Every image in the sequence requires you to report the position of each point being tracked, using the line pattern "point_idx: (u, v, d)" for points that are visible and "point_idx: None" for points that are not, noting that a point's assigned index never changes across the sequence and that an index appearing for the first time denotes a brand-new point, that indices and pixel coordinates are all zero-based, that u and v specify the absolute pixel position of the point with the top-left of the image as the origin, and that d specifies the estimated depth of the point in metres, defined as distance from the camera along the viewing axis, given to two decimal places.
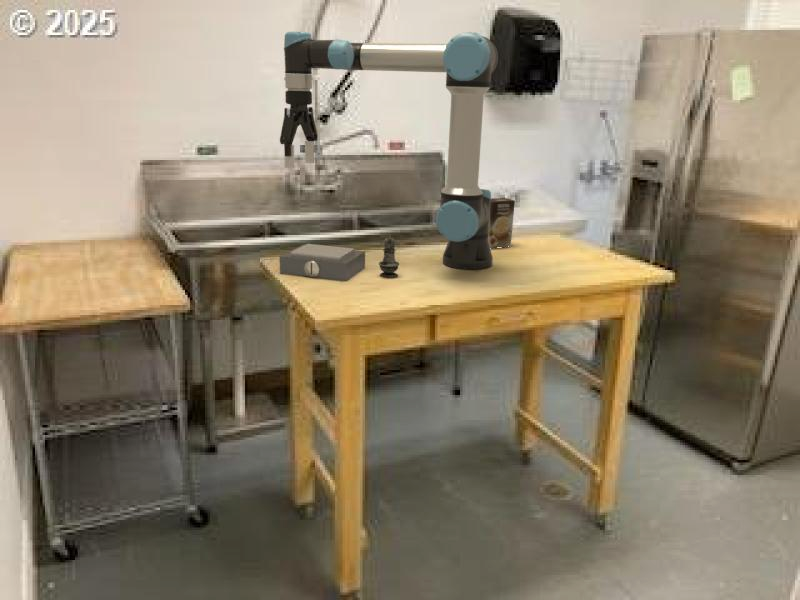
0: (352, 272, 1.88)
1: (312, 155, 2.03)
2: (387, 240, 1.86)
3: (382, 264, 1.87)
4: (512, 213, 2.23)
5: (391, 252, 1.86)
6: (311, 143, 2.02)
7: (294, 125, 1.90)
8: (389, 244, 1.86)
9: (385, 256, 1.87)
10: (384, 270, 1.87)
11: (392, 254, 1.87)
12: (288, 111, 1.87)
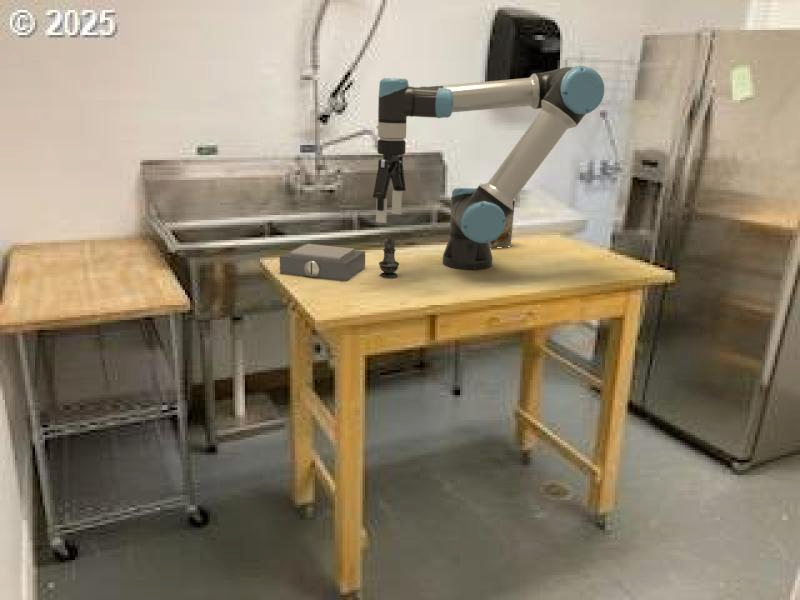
0: (352, 272, 1.88)
1: (400, 206, 1.90)
2: (387, 240, 1.86)
3: (382, 264, 1.87)
4: (512, 213, 2.23)
5: (391, 252, 1.86)
6: (399, 193, 1.89)
7: (387, 177, 1.77)
8: (389, 244, 1.86)
9: (385, 256, 1.87)
10: (384, 270, 1.87)
11: (393, 254, 1.87)
12: (382, 163, 1.74)
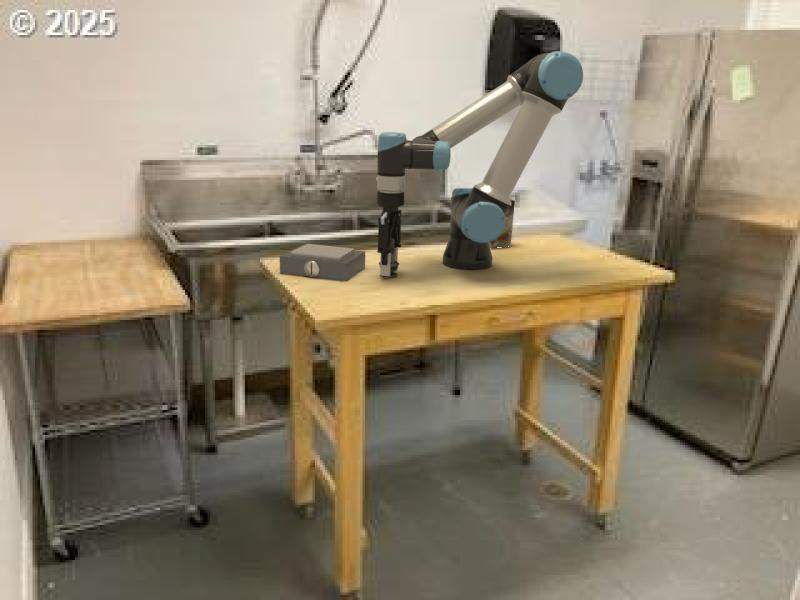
0: (352, 272, 1.88)
1: None
2: None
3: None
4: (512, 214, 2.23)
5: (391, 252, 1.86)
6: None
7: (388, 231, 1.83)
8: None
9: None
10: None
11: (392, 254, 1.87)
12: (382, 221, 1.79)
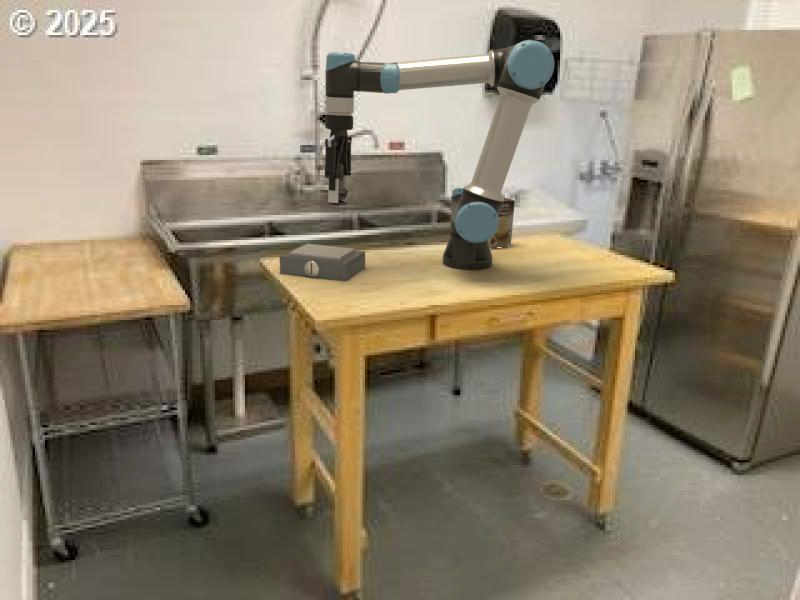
0: (352, 272, 1.88)
1: None
2: None
3: None
4: (512, 213, 2.23)
5: (340, 178, 1.82)
6: (344, 178, 1.86)
7: (336, 156, 1.79)
8: (338, 170, 1.82)
9: None
10: None
11: (341, 180, 1.83)
12: (329, 143, 1.75)
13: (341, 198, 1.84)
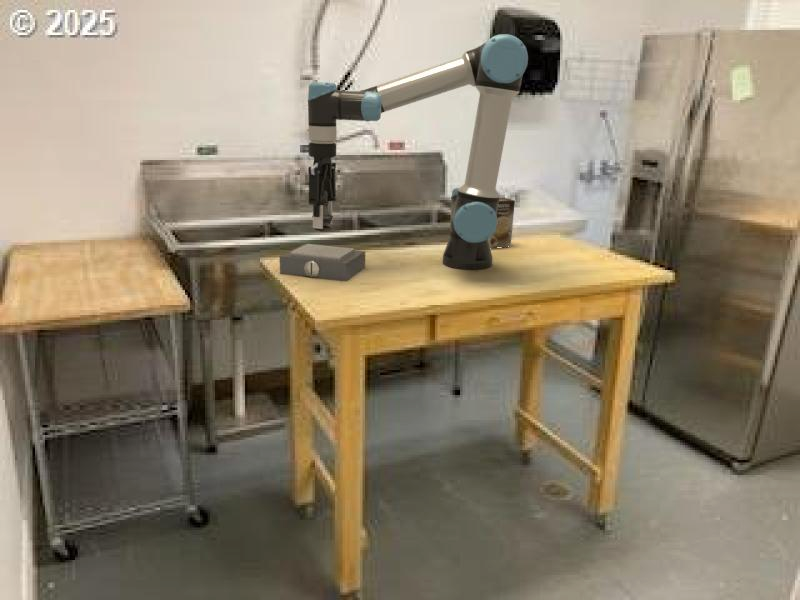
0: (352, 272, 1.88)
1: None
2: None
3: None
4: (512, 214, 2.23)
5: (324, 204, 1.86)
6: (329, 203, 1.89)
7: (320, 183, 1.82)
8: (322, 196, 1.85)
9: None
10: None
11: (325, 206, 1.86)
12: (312, 171, 1.78)
13: (326, 224, 1.87)
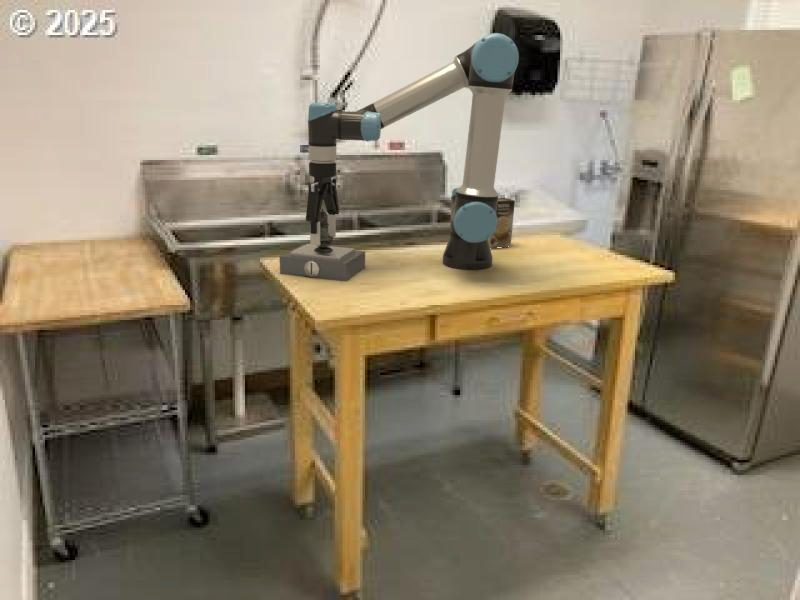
0: (352, 272, 1.88)
1: (333, 229, 1.94)
2: (320, 214, 1.87)
3: None
4: (512, 213, 2.23)
5: (324, 226, 1.87)
6: (332, 217, 1.93)
7: (319, 200, 1.82)
8: (322, 218, 1.87)
9: None
10: None
11: (326, 228, 1.88)
12: (312, 188, 1.79)
13: (326, 245, 1.89)
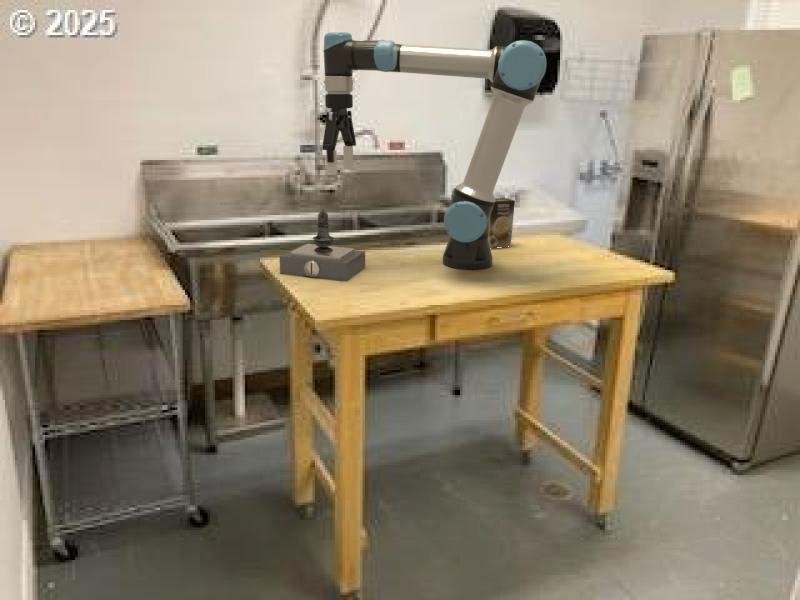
0: (352, 272, 1.88)
1: (351, 161, 1.95)
2: (320, 214, 1.87)
3: (316, 238, 1.88)
4: (512, 214, 2.23)
5: (324, 226, 1.87)
6: (350, 148, 1.94)
7: (336, 130, 1.82)
8: (322, 218, 1.87)
9: (319, 230, 1.88)
10: (318, 244, 1.88)
11: (326, 228, 1.88)
12: (330, 115, 1.79)
13: (326, 245, 1.89)
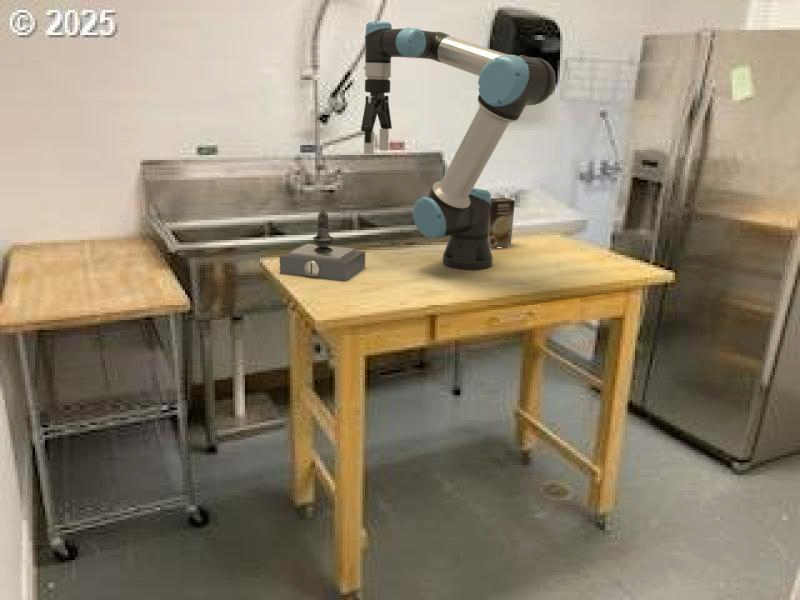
0: (352, 272, 1.88)
1: (386, 143, 2.08)
2: (320, 214, 1.87)
3: (316, 238, 1.88)
4: (512, 213, 2.23)
5: (324, 226, 1.87)
6: (386, 131, 2.07)
7: (374, 113, 1.95)
8: (322, 218, 1.87)
9: (319, 230, 1.88)
10: (318, 244, 1.88)
11: (326, 228, 1.88)
12: (369, 99, 1.92)
13: (326, 245, 1.89)
